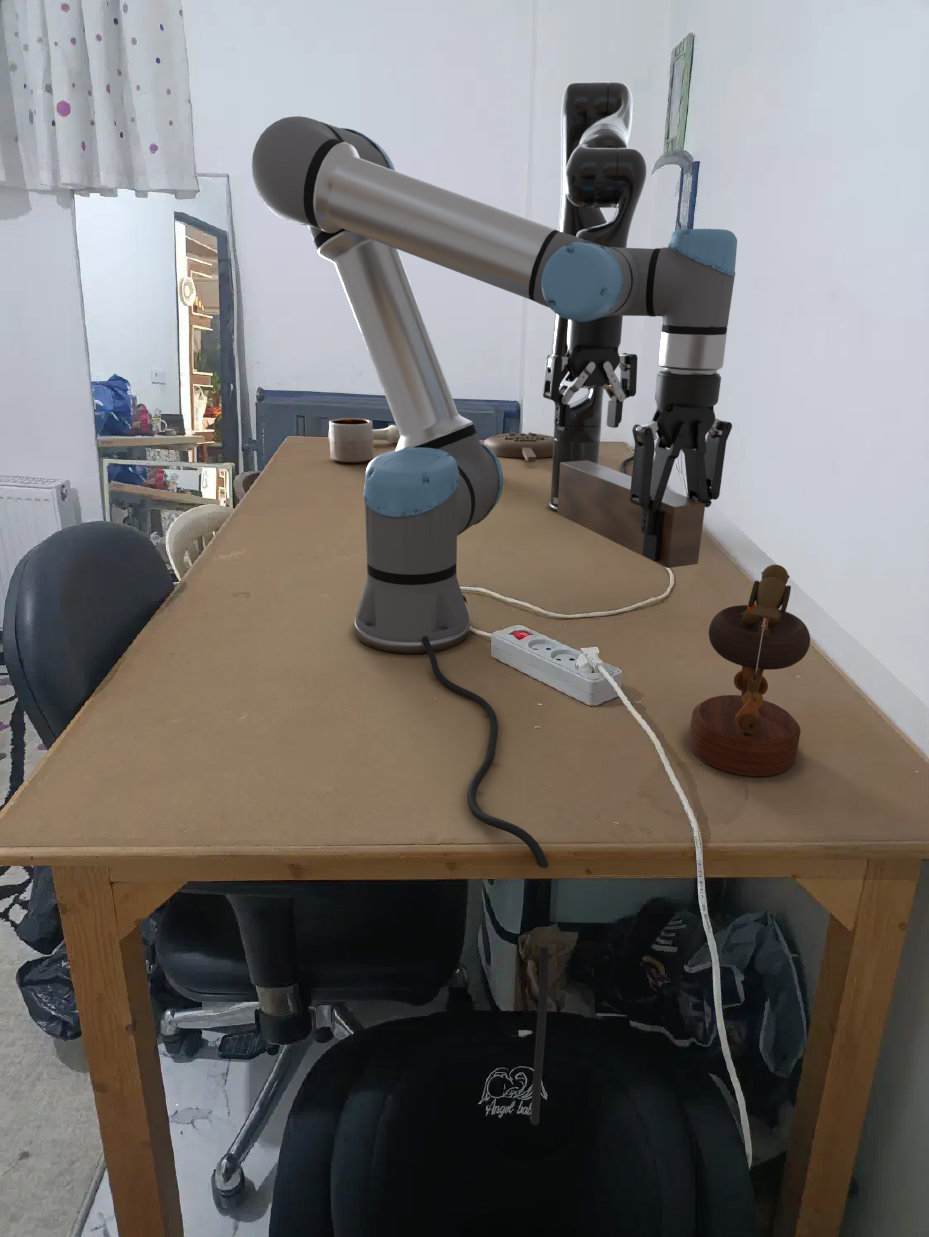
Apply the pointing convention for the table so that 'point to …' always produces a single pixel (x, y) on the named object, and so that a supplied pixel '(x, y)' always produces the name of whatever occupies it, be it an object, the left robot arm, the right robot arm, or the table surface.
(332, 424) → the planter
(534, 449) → the ice cream bar
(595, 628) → the table surface
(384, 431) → the dog toy
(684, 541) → the bar
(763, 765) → the brown wooden stacked piece
